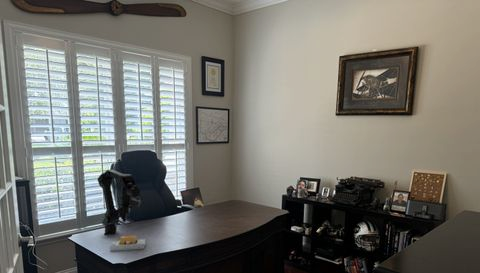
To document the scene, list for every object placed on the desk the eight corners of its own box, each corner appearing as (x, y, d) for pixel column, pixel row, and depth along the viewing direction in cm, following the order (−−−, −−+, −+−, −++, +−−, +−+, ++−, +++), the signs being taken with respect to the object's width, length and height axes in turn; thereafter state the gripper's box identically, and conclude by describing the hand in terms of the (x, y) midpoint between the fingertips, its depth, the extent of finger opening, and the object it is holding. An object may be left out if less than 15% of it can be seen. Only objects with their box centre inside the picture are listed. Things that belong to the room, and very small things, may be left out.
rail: (110, 251, 156) (110, 245, 156) (113, 246, 163) (113, 241, 163) (143, 248, 160) (143, 243, 160) (145, 244, 166) (145, 239, 166)
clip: (120, 249, 159) (120, 238, 159) (121, 247, 162) (121, 236, 162) (135, 248, 161) (135, 237, 161) (136, 246, 163) (136, 235, 163)
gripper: (137, 197, 167) (137, 223, 167) (141, 191, 185) (141, 215, 185) (117, 198, 165) (117, 224, 165) (124, 192, 183) (123, 215, 183)
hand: (126, 219), depth 174 cm, fingers open, 9 cm apart
